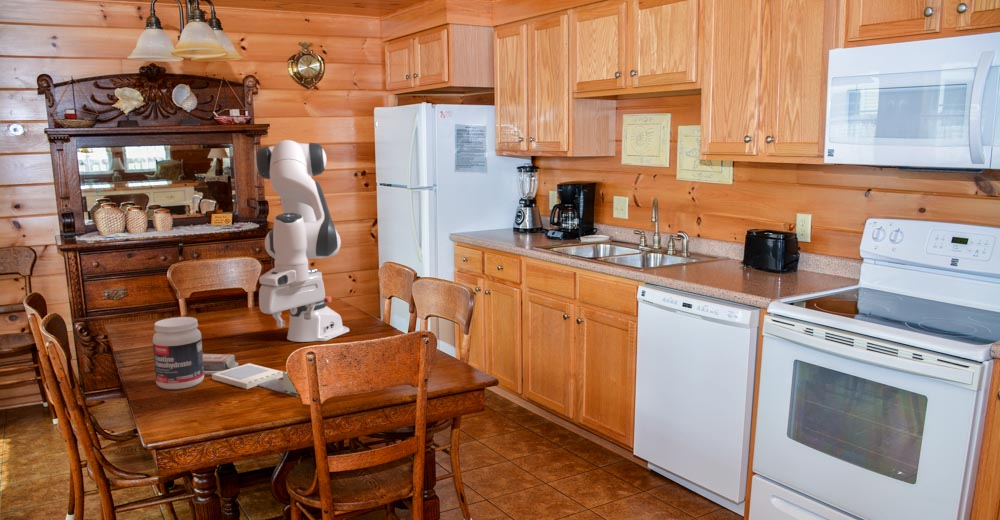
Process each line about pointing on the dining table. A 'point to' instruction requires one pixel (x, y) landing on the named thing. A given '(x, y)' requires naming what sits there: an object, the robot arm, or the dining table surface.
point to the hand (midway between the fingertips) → (294, 322)
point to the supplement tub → (178, 353)
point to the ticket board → (253, 378)
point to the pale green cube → (288, 383)
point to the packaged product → (218, 363)
